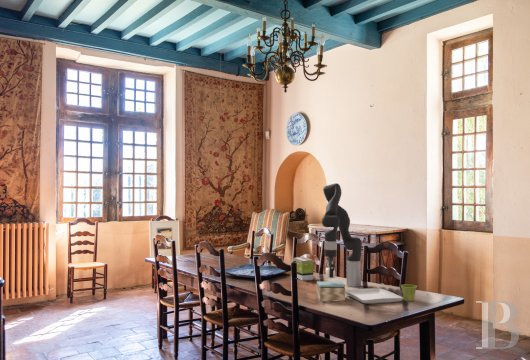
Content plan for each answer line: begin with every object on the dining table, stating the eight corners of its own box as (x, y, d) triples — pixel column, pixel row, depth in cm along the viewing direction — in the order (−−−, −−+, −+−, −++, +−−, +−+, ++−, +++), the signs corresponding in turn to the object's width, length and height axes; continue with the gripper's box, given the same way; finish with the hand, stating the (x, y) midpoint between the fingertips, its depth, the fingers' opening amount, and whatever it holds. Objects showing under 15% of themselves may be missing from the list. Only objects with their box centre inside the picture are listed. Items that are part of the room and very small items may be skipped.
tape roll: (334, 276, 285) (334, 267, 285) (335, 278, 279) (335, 269, 279) (324, 276, 285) (325, 267, 285) (326, 278, 279) (326, 269, 279)
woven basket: (340, 296, 289) (340, 283, 289) (345, 301, 276) (345, 287, 276) (316, 296, 288) (316, 283, 288) (319, 301, 275) (319, 287, 275)
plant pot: (405, 297, 286) (405, 283, 286) (419, 300, 279) (419, 285, 279) (397, 300, 280) (397, 285, 280) (411, 303, 273) (411, 288, 273)
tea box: (292, 277, 350) (292, 257, 350) (303, 276, 354) (303, 256, 355) (301, 280, 337) (302, 260, 337) (313, 279, 341) (314, 259, 341)
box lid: (340, 283, 289) (340, 281, 289) (345, 286, 276) (345, 285, 276) (316, 283, 288) (316, 281, 288) (319, 286, 275) (319, 285, 275)
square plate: (362, 306, 266) (362, 299, 266) (342, 295, 292) (342, 289, 292) (404, 303, 273) (404, 296, 273) (380, 293, 300) (380, 287, 300)
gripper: (338, 250, 275) (338, 278, 275) (334, 247, 290) (334, 274, 289) (326, 250, 275) (326, 278, 275) (322, 247, 290) (322, 274, 289)
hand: (330, 276), depth 282 cm, fingers closed on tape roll, 5 cm apart
